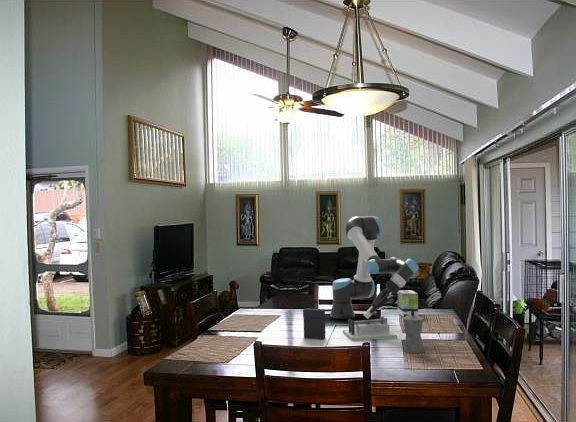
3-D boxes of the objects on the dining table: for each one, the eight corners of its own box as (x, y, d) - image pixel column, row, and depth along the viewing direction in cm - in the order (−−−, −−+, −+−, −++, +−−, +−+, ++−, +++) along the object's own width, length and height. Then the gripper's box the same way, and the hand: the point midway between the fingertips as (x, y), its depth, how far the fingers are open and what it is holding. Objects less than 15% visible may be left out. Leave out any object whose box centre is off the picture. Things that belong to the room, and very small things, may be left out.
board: (385, 330, 268) (385, 327, 268) (397, 338, 250) (397, 335, 250) (342, 332, 264) (342, 329, 264) (351, 340, 246) (351, 337, 246)
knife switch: (381, 328, 264) (381, 315, 264) (389, 334, 252) (389, 319, 252) (347, 330, 261) (346, 316, 261) (353, 336, 249) (353, 321, 250)
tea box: (418, 317, 301) (418, 293, 301) (402, 317, 301) (401, 293, 301) (412, 312, 316) (412, 289, 316) (397, 312, 316) (396, 289, 316)
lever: (383, 321, 260) (383, 318, 260) (385, 322, 257) (385, 319, 257) (351, 323, 257) (351, 320, 257) (352, 325, 254) (352, 321, 254)
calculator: (326, 338, 253) (325, 309, 253) (323, 340, 249) (322, 310, 249) (306, 336, 257) (305, 307, 258) (303, 338, 253) (302, 309, 254)
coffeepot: (430, 353, 220) (429, 313, 221) (411, 355, 218) (409, 314, 218) (413, 345, 235) (412, 307, 236) (395, 346, 233) (394, 308, 233)
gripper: (404, 290, 253) (374, 324, 250) (395, 286, 266) (366, 319, 263) (394, 280, 252) (364, 314, 250) (386, 277, 265) (357, 309, 262)
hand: (365, 316), depth 256 cm, fingers closed
